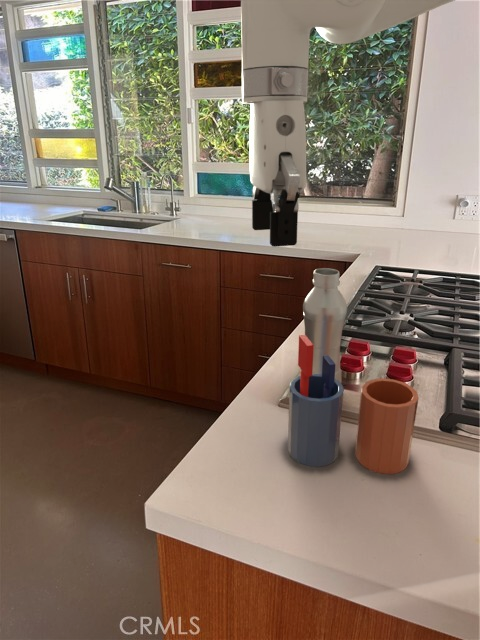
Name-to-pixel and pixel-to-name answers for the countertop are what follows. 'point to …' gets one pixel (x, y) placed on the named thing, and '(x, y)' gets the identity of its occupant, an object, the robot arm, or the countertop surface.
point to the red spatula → (305, 363)
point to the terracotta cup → (385, 425)
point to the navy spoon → (328, 375)
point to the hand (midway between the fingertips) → (272, 236)
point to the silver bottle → (325, 318)
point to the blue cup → (314, 422)
